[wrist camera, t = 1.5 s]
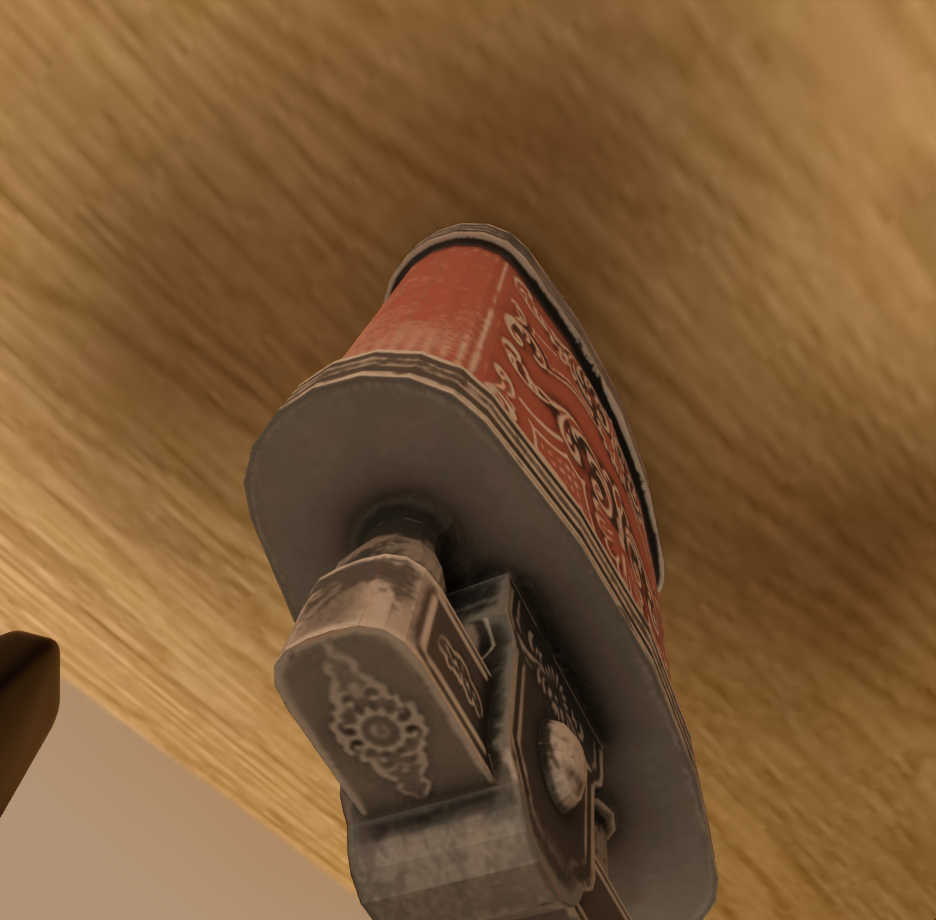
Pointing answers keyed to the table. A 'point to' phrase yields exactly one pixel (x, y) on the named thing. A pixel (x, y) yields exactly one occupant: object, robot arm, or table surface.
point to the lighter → (482, 607)
